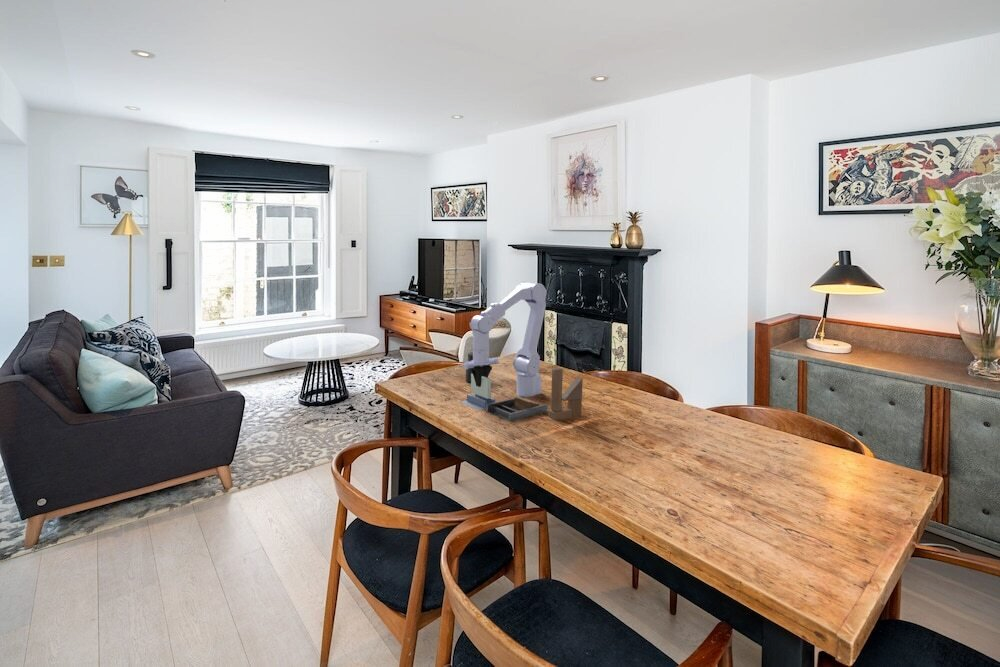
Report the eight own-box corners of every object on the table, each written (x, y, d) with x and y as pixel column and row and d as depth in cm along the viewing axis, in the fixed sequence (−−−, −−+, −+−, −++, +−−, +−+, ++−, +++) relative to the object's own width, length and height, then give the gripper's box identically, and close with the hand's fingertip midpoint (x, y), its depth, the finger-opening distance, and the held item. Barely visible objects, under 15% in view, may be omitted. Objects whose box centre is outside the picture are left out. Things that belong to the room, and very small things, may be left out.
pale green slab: (474, 391, 197) (474, 373, 196) (491, 398, 190) (491, 379, 188) (471, 392, 196) (471, 374, 195) (487, 398, 189) (487, 379, 187)
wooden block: (581, 419, 181) (583, 367, 177) (553, 423, 177) (554, 370, 173) (576, 415, 184) (577, 365, 181) (548, 419, 180) (549, 368, 177)
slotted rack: (523, 405, 195) (523, 395, 195) (547, 414, 185) (547, 404, 185) (486, 414, 185) (486, 404, 184) (510, 424, 175) (510, 414, 174)
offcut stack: (523, 404, 192) (524, 394, 191) (538, 410, 186) (539, 400, 185) (514, 407, 189) (514, 397, 189) (529, 413, 183) (529, 402, 183)
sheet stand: (481, 399, 202) (482, 390, 201) (501, 407, 192) (501, 398, 192) (460, 404, 195) (460, 395, 195) (479, 412, 186) (479, 403, 186)
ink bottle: (476, 385, 221) (476, 357, 219) (460, 381, 227) (460, 354, 224) (491, 380, 229) (491, 353, 227) (475, 377, 234) (475, 350, 232)
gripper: (470, 353, 183) (471, 391, 185) (503, 348, 191) (503, 384, 194) (459, 350, 188) (459, 387, 190) (491, 345, 197) (491, 380, 199)
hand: (480, 385), depth 192 cm, fingers closed on pale green slab, 2 cm apart
